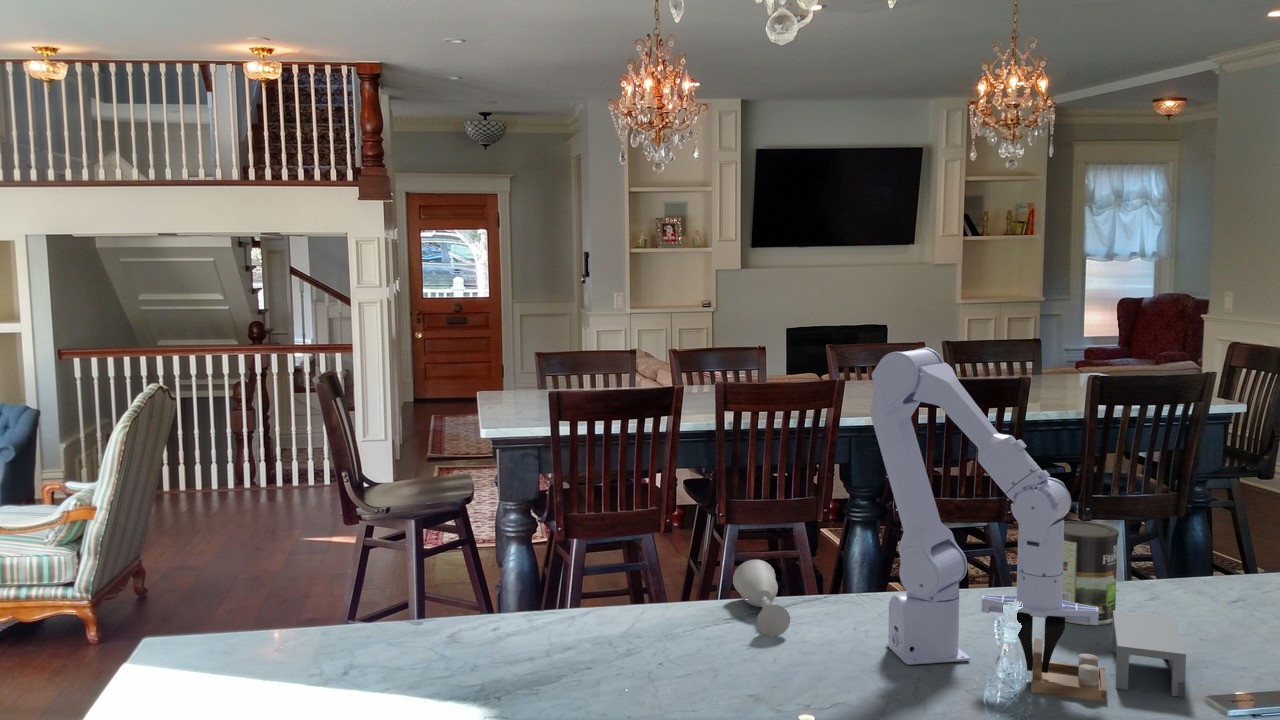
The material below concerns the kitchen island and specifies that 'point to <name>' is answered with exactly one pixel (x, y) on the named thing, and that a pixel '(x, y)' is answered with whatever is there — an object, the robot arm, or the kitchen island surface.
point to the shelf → (1148, 645)
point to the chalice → (762, 595)
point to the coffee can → (1090, 567)
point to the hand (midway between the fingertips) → (1037, 669)
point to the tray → (1069, 677)
